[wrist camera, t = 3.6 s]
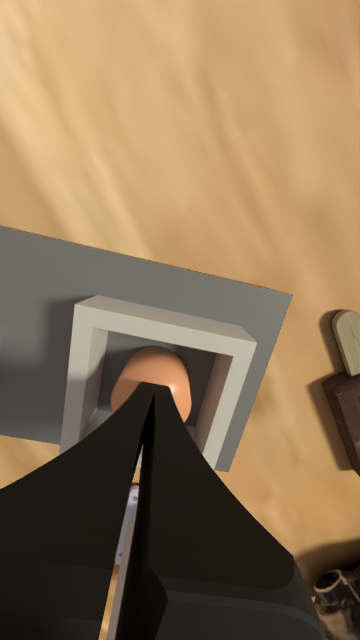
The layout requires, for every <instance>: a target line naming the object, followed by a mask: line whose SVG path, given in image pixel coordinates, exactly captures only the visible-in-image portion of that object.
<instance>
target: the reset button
mask: <svg viewBox="0 0 360 640" xmlns="http://www.w3.org/2000/svg"><path fill="white" fill-rule="evenodd" d="M142 381H143V382H149V383H154V384H159V385H165V386H169V387H170V389H171V392H172V395H173V398H174V401H175V403H176V406H177V408H178V411H179V413H180V415H181V417H182V419H183V422H185V421H186V419H187V418H188V416H189V413H190V410H191V394H190V385H189V376H188V369H187V366H186V364H185V362H184V360H183V359H182V358H181V357H180V356H179V355H178V354H177V353H175V352H174V351H172V350H170V349H168V348H164V347H159V346H152V347H146V348H143V349H141V350H139V351H137V352H136V353H134V354H133V355H132V356H131V357H130V358H129V360H128V361H127V363H126V365H125V367H124V369H123V371H122V373H121V375H120V377H119V379H118V381H117V383H116V385H115V387H114V389H113V392H112V396H111V407H112V411H113V413H114V412H115V411H116V410H117V409H118V408H119V407H120V406H121V405H122V404H123V403H124V402H125V401H126V400H127V399H128V398H129V396H130V395H131V394H132V393H133V392H134V390H135V389H136V387H137V386H138V384H139V383H140V382H142Z"/></svg>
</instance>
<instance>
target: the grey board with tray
mask: <svg viewBox="0 0 360 640" xmlns="http://www.w3.org/2000/svg"><path fill="white" fill-rule="evenodd" d="M292 296H293V295H291V294H288V293H284V292H280V291H277V290H273V289H269V288H265V287H261V286H257V285H252V284H248V283H244V282H240V281H235V280H231V279H227V278H222V277H218V276H214V275H210V274H205V273H201V272H197V271H193V270H188V269H184V268H180V267H175V266H171V265H167V264H163V263H158V262H154V261H150V260H145V259H141V258H137V257H133V256H128V255H124V254H120V253H116V252H111V251H107V250H103V249H98V248H94V247H90V246H86V245H81V244H77V243H73V242H68V241H64V240H60V239H56V238H51V237H47V236H43V235H39V234H34V233H30V232H26V231H21V230H17V229H13V228H9V227H4V226H0V435H4V436H10V437H16V438H22V439H29V440H35V441H41V442H47V443H53V444H59V445H60V454H62V453H63V452H65V451H66V450H68V449H69V448H71V447H72V446H74V445H75V444H76V443H78V442H79V441H81V440H82V439H83V438H85V437H86V436H87V435H89V434H90V433H91V432H92V431H94V430H95V429H96V428H97V427H99V426H100V425H101V424H102V423H103V422H104V421H106V420H107V419H108V418H109V417H110V416H111V415H112V414H113V411H112V407H111V396H112V392H113V389H114V387H115V385H116V383H117V381H118V379H119V377H120V375H121V373H122V371H123V369H124V367H125V365H126V363H127V361H128V360H129V358H130V357H131V356H132V355H133V354H134V353H136V352H137V351H139V350H141V349H143V348H146V347H152V346H159V347H164V348H168V349H170V350H172V351H174V352H175V353H177V354H178V355H179V356H180V357H181V358H182V359H183V360H184V362H185V364H186V366H187V369H188V376H189V385H190V394H191V410H190V413H189V416H188V418H187V419H186V421H185V422H184V424H185V426H186V428H187V429H188V431H189V433H190V435H191V437H192V439H193V440H194V442H195V444H196V445H197V447H198V449H199V450H200V452H201V453H202V455H203V456H204V458H205V459H206V461H207V462H208V464H209V465H210V466H211V468H212V469H213V470H218V471H224V472H229V469H230V467H231V464H232V461H233V458H234V456H235V453H236V450H237V447H238V445H239V442H240V439H241V436H242V434H243V431H244V428H245V425H246V423H247V420H248V417H249V414H250V412H251V409H252V406H253V403H254V401H255V398H256V395H257V392H258V390H259V387H260V384H261V381H262V379H263V376H264V373H265V370H266V368H267V365H268V362H269V359H270V357H271V354H272V351H273V349H274V346H275V343H276V340H277V338H278V335H279V332H280V329H281V327H282V324H283V321H284V318H285V316H286V313H287V310H288V307H289V305H290V302H291V299H292ZM142 448H143V445H142ZM141 459H142V449H141V452H140V456H139V459H138V463H137V466H136V467H138V468H141Z"/></svg>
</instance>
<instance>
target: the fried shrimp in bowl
mask: <svg viewBox="0 0 360 640" xmlns="http://www.w3.org/2000/svg"><path fill="white" fill-rule="evenodd" d="M314 590H315V592H316V593H317V596H316V598H315V601H314V603H313V604H314V606H315V609H316V611H317V614H318V616H319V619H320V621H321V624H322V626H323V629H324V631H325V634H326V640H360V565H359V566H358V567H357V568H356V569H355V570H348V571H344V570H339V569H337V570H331V571H328V572H326V573H324V574H322V575H321V576H319V577H318V578H317V580H316V582H315V584H314Z"/></svg>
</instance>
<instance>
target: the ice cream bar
mask: <svg viewBox="0 0 360 640" xmlns="http://www.w3.org/2000/svg"><path fill="white" fill-rule="evenodd" d="M332 328H333V331H334V334H335V337H336V341H337V344H338V347H339V350H340V353H341V356H342V359H343V362H344V365H345V368H346V371H344V372H342V373H339V374H336V375H334V376H332V377H331V378H329V379H327V380H325V381H323V382H322V385H323V388H324V391H325V393H326V396H327V399H328V402H329V404H330V407H331V410H332V413H333V415H334V418H335V421H336V424H337V426H338V429H339V432H340V435H341V437H342V440H343V443H344V446H345V448H346V451H347V454H348V457H349V459H350V462H351V465H352V468H353V469H354V471H355V472H356V473H357V474H358V475H359V476H360V314H359V313H358V312H355V311H351V310H343V311H340V312H339V313H337V314H336V315H335V316H334V318H333V320H332Z"/></svg>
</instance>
